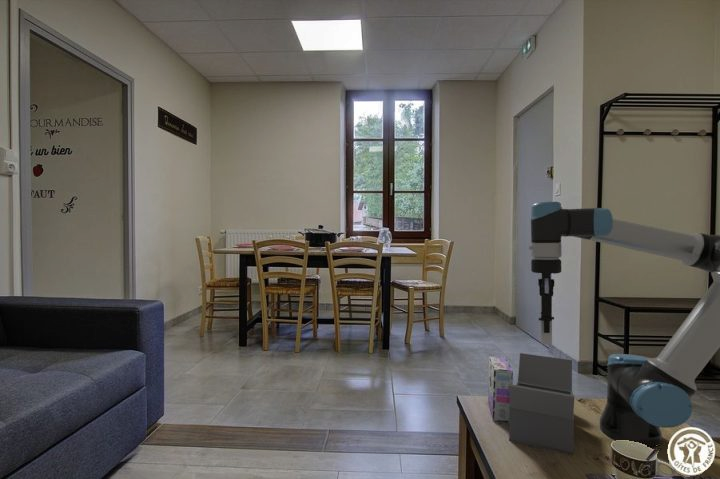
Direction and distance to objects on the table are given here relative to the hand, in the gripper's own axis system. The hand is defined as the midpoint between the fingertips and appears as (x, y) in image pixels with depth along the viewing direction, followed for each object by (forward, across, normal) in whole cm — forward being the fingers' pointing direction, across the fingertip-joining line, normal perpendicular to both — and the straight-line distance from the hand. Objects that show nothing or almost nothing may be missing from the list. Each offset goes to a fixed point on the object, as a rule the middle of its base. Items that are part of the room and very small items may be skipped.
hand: (546, 343), depth 110 cm
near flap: (+14, +5, -2) cm, 15 cm away
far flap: (+14, -21, 0) cm, 25 cm away
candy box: (+28, -16, -14) cm, 35 cm away
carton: (+28, -8, -1) cm, 29 cm away
